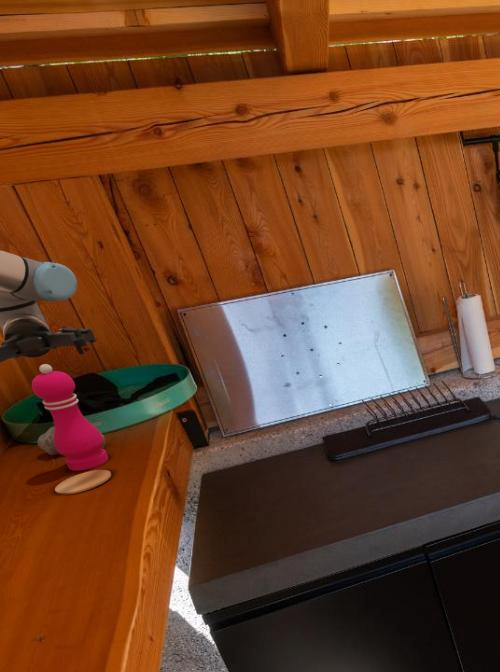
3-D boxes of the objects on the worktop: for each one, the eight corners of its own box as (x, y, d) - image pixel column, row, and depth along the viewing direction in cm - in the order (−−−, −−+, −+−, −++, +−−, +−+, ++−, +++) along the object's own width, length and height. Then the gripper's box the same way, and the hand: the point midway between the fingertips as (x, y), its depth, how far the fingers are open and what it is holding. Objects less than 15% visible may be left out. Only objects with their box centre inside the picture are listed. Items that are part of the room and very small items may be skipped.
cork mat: (44, 496, 134) (43, 494, 134) (77, 473, 142) (76, 471, 142) (91, 492, 134) (90, 490, 134) (121, 469, 142) (120, 467, 141)
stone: (115, 448, 153) (94, 417, 154) (102, 438, 148) (80, 406, 149) (62, 474, 149) (41, 442, 150) (47, 465, 144) (25, 432, 145)
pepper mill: (56, 470, 143) (7, 370, 133) (91, 453, 149) (47, 356, 139) (86, 474, 141) (39, 372, 132) (121, 456, 147) (78, 358, 138)
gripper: (107, 336, 166) (121, 357, 151) (-39, 371, 152) (-39, 398, 137) (91, 302, 162) (104, 320, 148) (-61, 336, 148) (-63, 359, 134)
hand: (35, 358), depth 142 cm, fingers open, 13 cm apart
